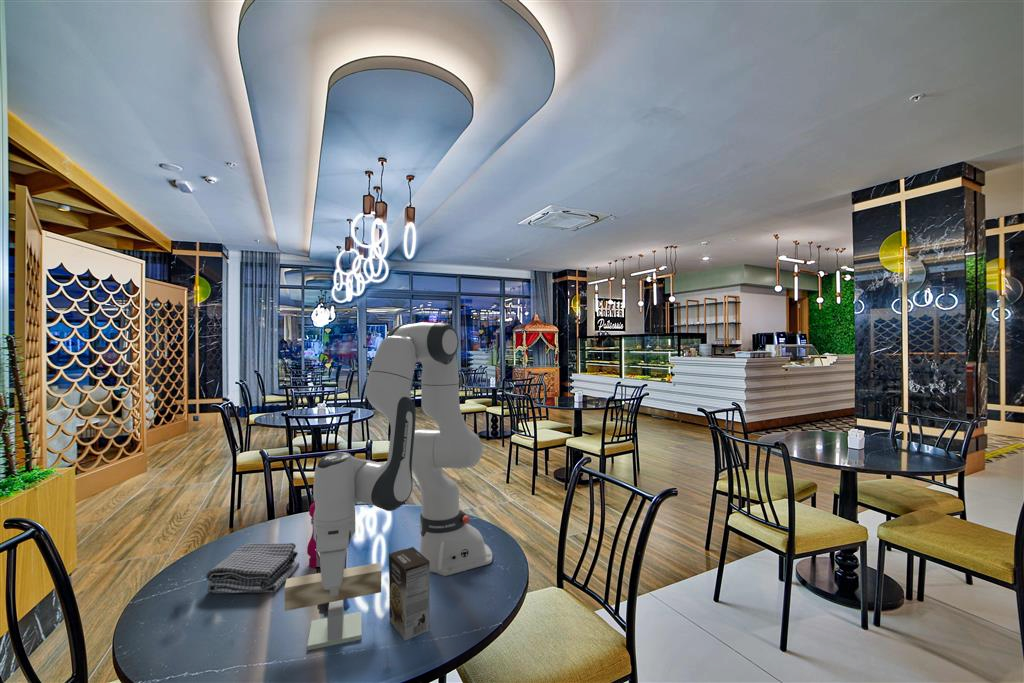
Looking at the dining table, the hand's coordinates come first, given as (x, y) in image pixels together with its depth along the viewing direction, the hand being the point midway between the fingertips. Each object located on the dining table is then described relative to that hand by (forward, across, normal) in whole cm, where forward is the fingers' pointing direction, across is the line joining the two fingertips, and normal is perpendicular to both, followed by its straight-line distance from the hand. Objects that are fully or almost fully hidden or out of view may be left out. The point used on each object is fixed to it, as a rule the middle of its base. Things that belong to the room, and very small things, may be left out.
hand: (335, 587), depth 103 cm
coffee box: (+10, +3, +16) cm, 19 cm away
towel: (+11, -31, -22) cm, 39 cm away
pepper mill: (+10, -35, -6) cm, 37 cm away
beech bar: (+2, 0, 0) cm, 2 cm away
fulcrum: (+10, 0, 0) cm, 10 cm away
